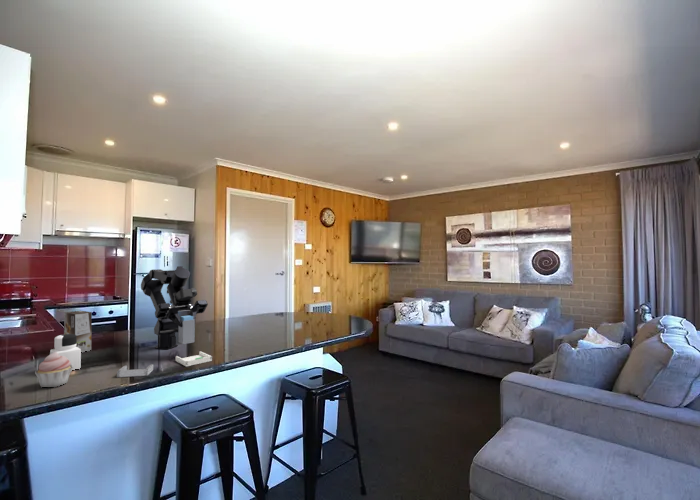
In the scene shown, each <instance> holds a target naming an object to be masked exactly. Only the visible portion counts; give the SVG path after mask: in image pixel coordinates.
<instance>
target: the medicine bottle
mask: <svg viewBox="0 0 700 500" xmlns="http://www.w3.org/2000/svg"><path fill="white" fill-rule="evenodd" d="M76 345H77V336H76V335H74V334H64V333H63V334H60V335H57V336H55V337H54V348H53V349H52V348H51V349H50V352H49V355H50V354H52V353H54V352H57V353H58V354H59V356H65V357H66V358H67V359H68V360H69V361H70V362H71V364H70V365H73V366H72V367H73V369H72V370H74V371H76V370H75V369H79V370H81V369H82V368H81V367H82V366H81V363H82V361H81V359H82V353H81V349H80V348H78V347H76ZM80 368H81V369H80Z"/></svg>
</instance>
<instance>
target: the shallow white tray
mask: <svg viewBox="0 0 700 500" xmlns="http://www.w3.org/2000/svg"><path fill="white" fill-rule="evenodd" d="M153 371H154V363H151V364H149V365H148V366H147V367H146V368H140V369H139V368H138V369H137V368H136V369H128V365H123V366H122V367H121V368H119V369H118V370H117V371H116V378H129V377H132V378H133V377H147V376H149V375H150V374H151V373H152V372H153Z"/></svg>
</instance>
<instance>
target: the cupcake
mask: <svg viewBox="0 0 700 500" xmlns="http://www.w3.org/2000/svg"><path fill="white" fill-rule="evenodd" d="M70 364H71V362H70V361H69V360H68V359H67V358H66V357H65V356H59V354H58V353H57V352H54V353H52V354H50V353H49V355H47V356H46V357H45V358H44V359H43V361H41V362H40V363H39V365H38V370H34V373H35V375H36V377H37V380H38V382H39V383H38V384H39V385H40V388H42V387H54V388H57V387H56V386H58V387H61V386H60V385H62V386H64V385H66V384H67V383H68V381H69V378H70V374H71V373H72V372H73V371H72V369H73V367H72V366H73V365H70ZM65 383H66V384H65ZM63 384H64V385H63Z"/></svg>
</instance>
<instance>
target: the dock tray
mask: <svg viewBox="0 0 700 500" xmlns="http://www.w3.org/2000/svg"><path fill="white" fill-rule="evenodd" d="M198 353H199V354H196V355H191V356H188V357H187V356H186V357H181V356H178V355H176V356H175V362H177V363H178V364H180V365H183V366H184V367H190V366H193V365H195V366H196V365H198V364H203V363H208V362H212V361H213V355H210V354H208V353H206V352H203V351H198Z"/></svg>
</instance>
